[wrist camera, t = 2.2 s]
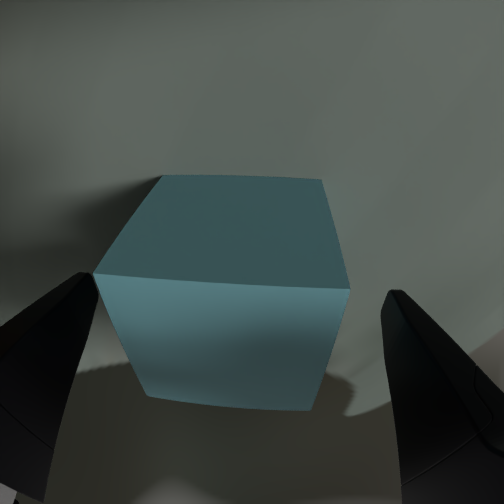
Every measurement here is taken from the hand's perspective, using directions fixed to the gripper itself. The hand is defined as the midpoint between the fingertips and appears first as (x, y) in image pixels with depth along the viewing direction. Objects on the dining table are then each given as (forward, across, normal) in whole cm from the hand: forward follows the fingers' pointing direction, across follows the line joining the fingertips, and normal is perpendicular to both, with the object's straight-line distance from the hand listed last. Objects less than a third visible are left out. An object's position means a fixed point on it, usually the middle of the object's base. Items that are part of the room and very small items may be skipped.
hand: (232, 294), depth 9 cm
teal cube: (+3, 0, 0) cm, 3 cm away
